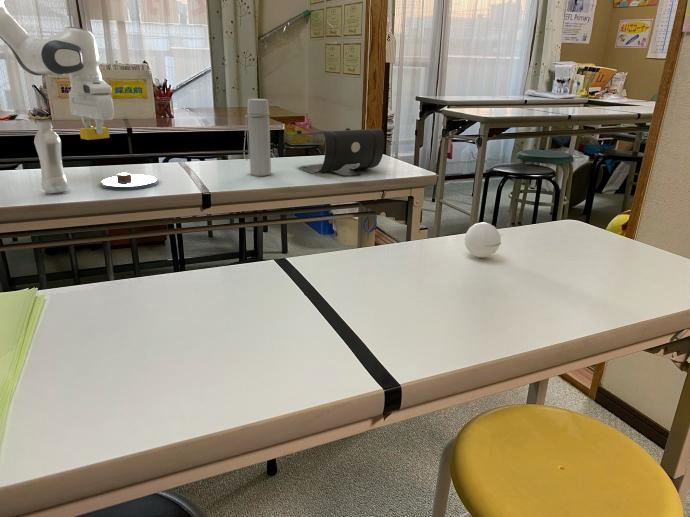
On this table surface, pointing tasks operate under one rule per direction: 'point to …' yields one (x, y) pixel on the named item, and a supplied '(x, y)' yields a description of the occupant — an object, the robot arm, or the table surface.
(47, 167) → the plastic bottle
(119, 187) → the plate
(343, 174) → the laptop stand
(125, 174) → the crust
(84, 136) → the sponge
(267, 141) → the water bottle
